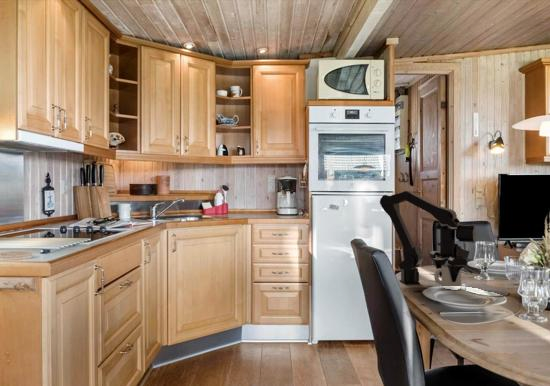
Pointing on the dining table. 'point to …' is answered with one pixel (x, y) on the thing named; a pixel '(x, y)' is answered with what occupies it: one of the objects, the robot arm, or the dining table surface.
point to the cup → (446, 277)
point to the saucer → (491, 289)
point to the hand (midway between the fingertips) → (447, 279)
